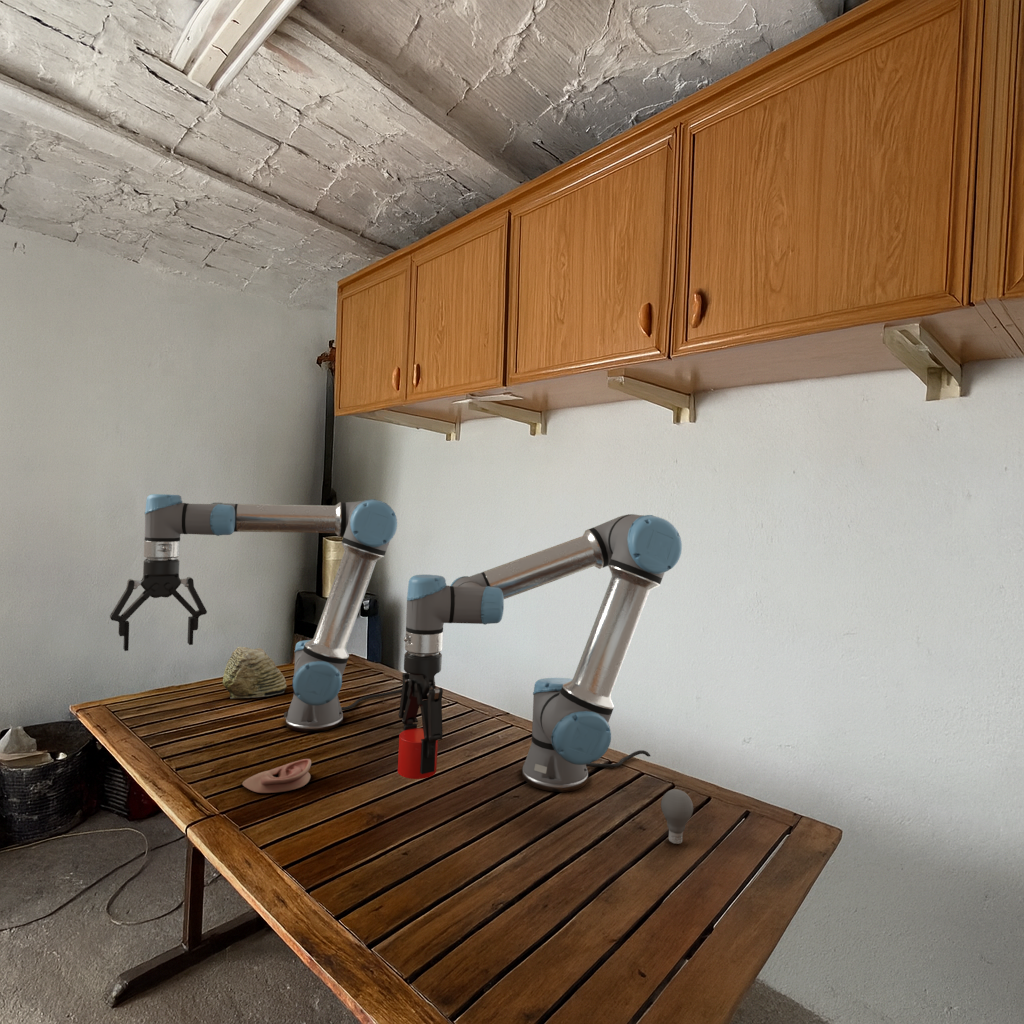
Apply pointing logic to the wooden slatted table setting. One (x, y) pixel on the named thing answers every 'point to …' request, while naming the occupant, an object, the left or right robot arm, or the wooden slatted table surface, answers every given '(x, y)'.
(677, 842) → the light bulb
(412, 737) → the can
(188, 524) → the left robot arm
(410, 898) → the wooden slatted table surface
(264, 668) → the fossil
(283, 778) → the anatomical model
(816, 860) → the wooden slatted table surface
